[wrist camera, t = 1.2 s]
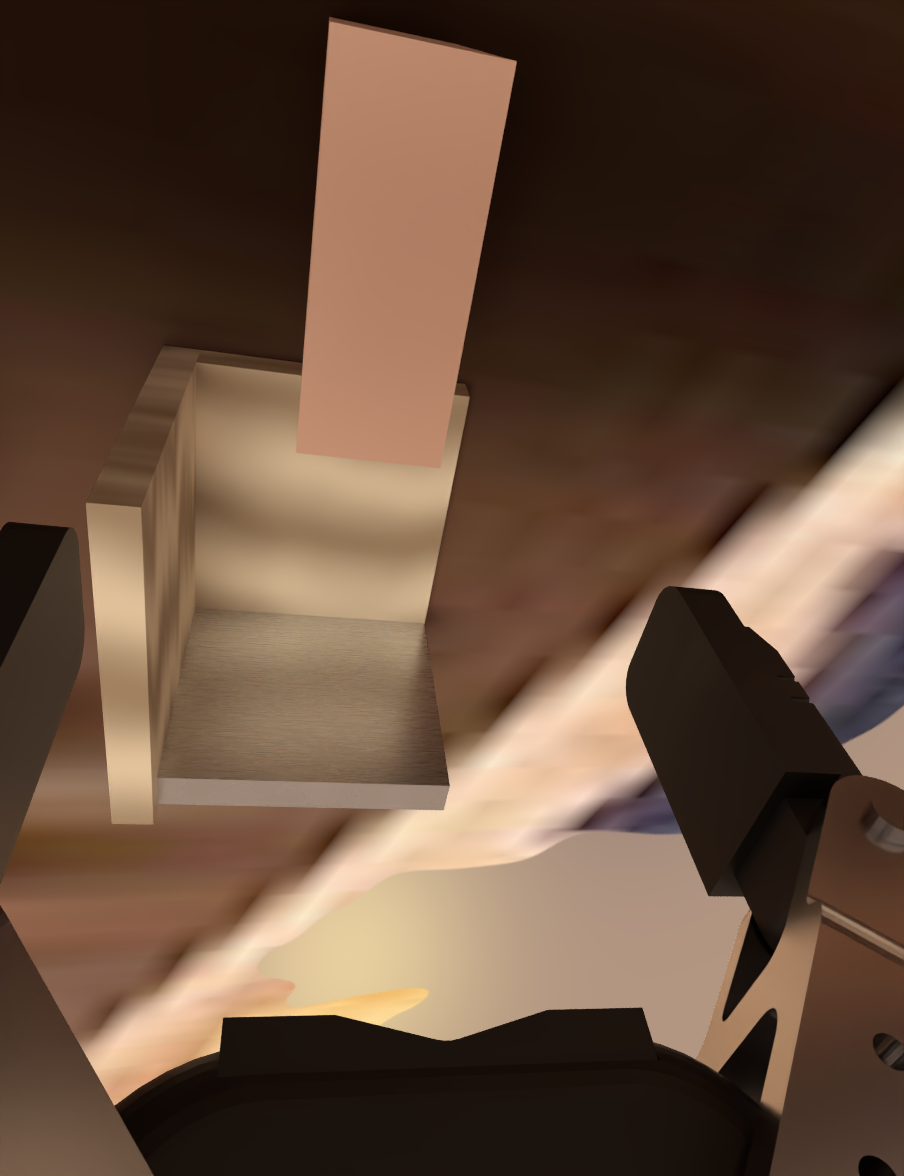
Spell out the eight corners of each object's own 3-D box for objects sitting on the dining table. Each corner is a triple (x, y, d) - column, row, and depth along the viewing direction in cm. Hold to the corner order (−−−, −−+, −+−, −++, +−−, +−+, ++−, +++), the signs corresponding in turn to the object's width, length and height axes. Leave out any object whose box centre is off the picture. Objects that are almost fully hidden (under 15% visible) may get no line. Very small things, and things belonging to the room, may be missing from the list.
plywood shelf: (163, 345, 34) (85, 502, 23) (465, 384, 37) (522, 542, 26) (168, 611, 42) (112, 823, 31) (417, 628, 45) (446, 829, 34)
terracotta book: (329, 16, 29) (329, 21, 19) (455, 43, 29) (516, 61, 20) (304, 328, 35) (296, 452, 25) (409, 342, 36) (440, 468, 26)
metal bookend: (195, 607, 40) (156, 777, 31) (424, 623, 43) (449, 785, 34) (195, 631, 41) (157, 803, 32) (420, 645, 43) (443, 810, 34)
